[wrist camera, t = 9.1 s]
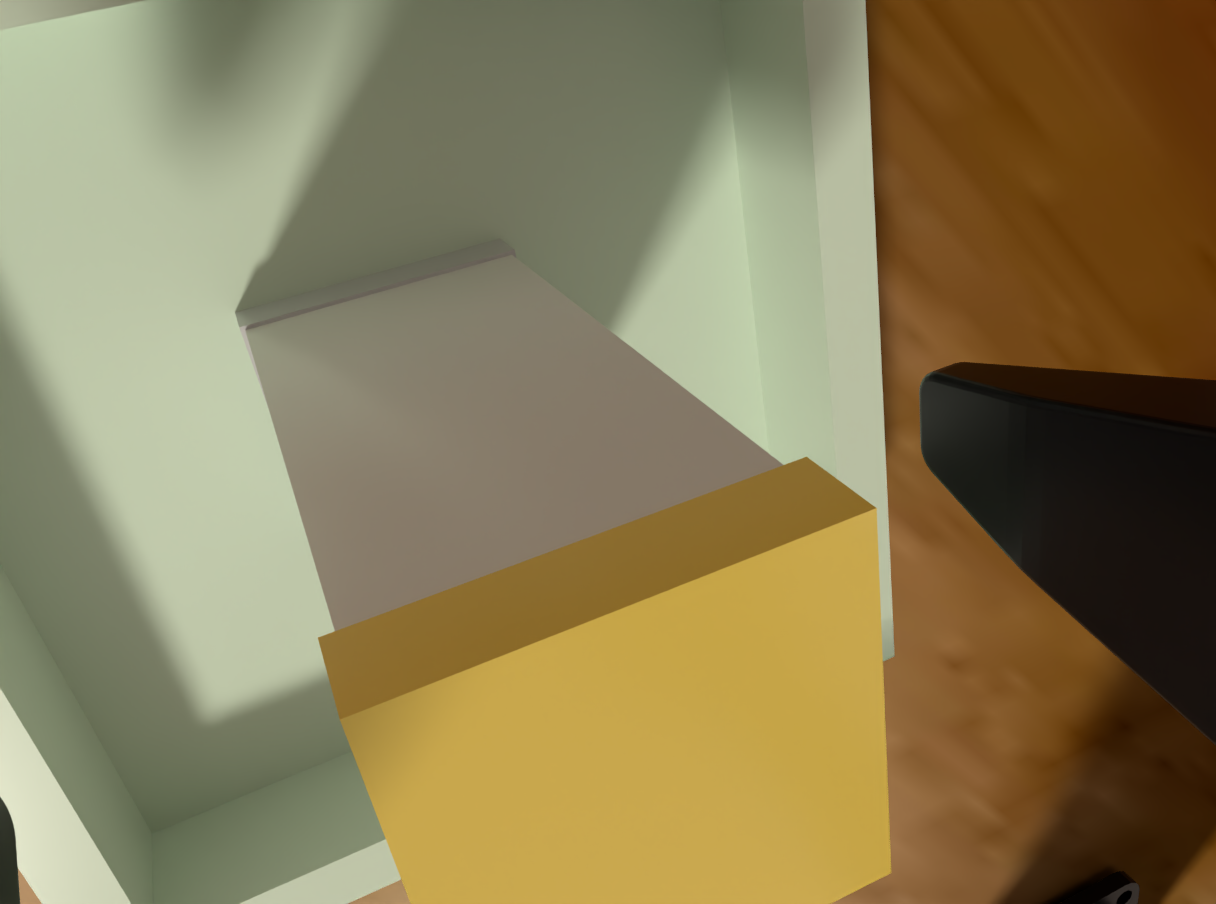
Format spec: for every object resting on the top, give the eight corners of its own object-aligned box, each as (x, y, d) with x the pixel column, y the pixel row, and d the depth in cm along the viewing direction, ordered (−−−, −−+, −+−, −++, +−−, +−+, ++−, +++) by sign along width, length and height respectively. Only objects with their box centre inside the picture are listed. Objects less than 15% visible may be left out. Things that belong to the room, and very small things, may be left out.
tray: (735, -203, 12) (855, -237, 10) (807, 576, 18) (894, 656, 16) (-402, 2, 9) (-555, 14, 7) (116, 865, 15) (112, 1010, 13)
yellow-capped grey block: (502, 233, 13) (875, 508, 6) (552, 465, 15) (891, 871, 8) (229, 309, 12) (339, 720, 5) (315, 547, 14) (480, 1082, 7)
